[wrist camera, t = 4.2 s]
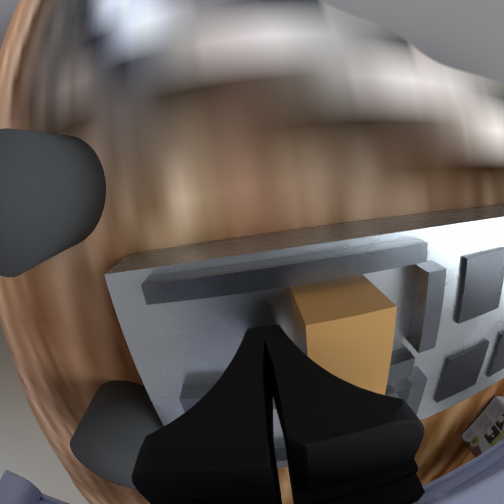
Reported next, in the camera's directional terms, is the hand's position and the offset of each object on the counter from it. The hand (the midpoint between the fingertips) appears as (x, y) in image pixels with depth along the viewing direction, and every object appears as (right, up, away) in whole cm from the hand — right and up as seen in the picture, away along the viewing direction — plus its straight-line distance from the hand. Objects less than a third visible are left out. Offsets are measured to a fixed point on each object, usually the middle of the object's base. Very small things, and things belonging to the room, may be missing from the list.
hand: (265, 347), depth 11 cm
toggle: (+3, +1, +1) cm, 3 cm away
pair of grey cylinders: (-10, 0, +4) cm, 10 cm away
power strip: (+7, -1, +5) cm, 9 cm away
